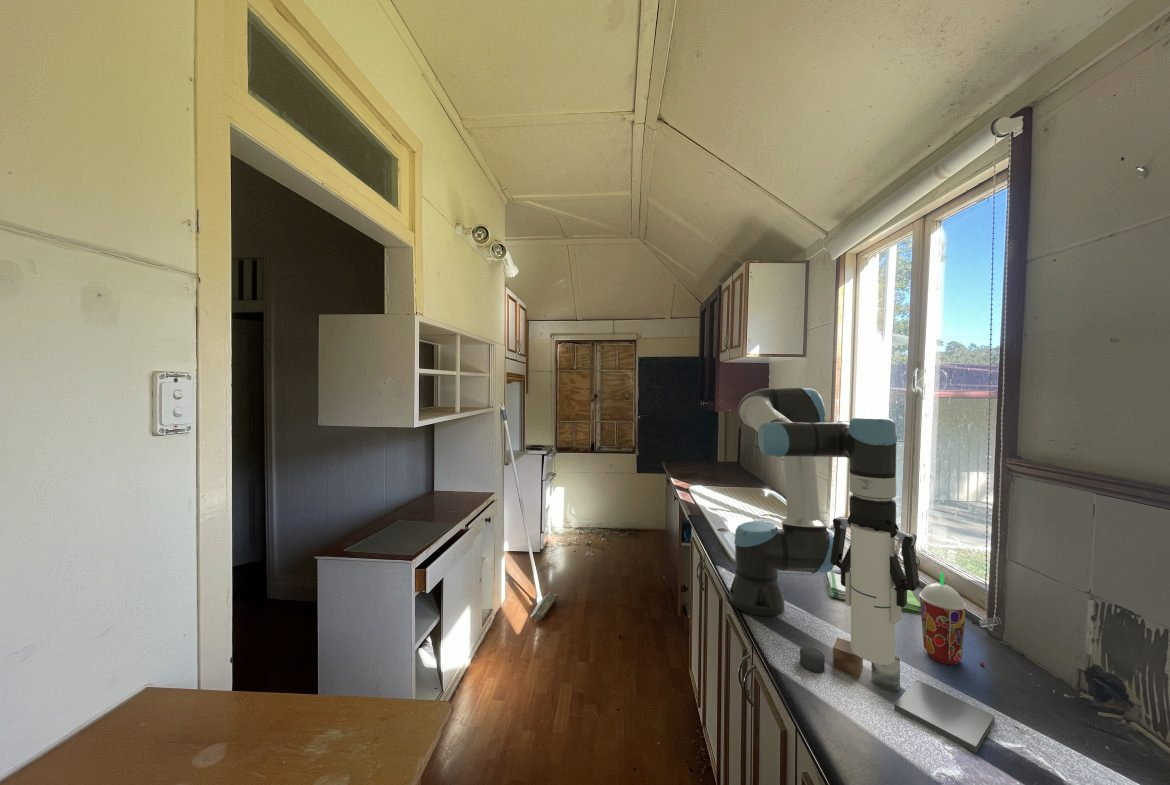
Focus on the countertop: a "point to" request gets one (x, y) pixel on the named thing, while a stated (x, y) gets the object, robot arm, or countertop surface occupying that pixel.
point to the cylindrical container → (872, 595)
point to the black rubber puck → (812, 660)
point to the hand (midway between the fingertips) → (872, 611)
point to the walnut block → (846, 658)
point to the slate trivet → (946, 715)
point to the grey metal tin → (887, 675)
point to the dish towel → (839, 592)
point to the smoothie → (942, 622)
